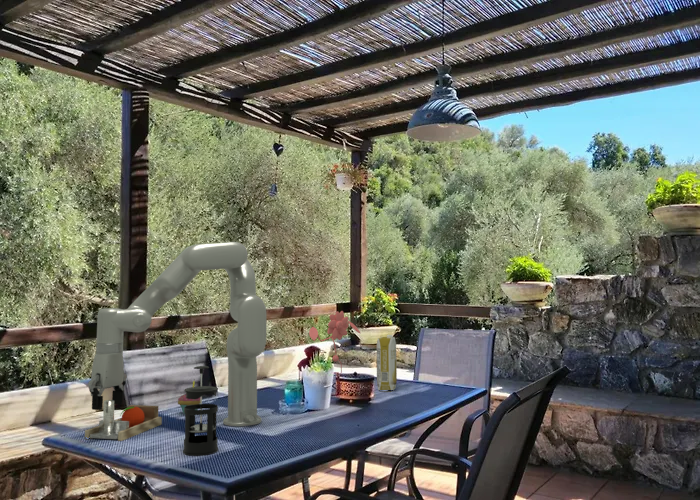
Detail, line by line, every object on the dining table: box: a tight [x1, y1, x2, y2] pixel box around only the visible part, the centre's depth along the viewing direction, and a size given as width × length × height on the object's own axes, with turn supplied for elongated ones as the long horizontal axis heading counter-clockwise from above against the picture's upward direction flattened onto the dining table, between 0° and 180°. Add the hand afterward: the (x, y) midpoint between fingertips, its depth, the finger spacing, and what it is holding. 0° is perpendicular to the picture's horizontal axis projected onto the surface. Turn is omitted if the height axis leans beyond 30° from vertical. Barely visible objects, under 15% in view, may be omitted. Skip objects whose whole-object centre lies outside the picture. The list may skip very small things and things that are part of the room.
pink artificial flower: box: [308, 310, 361, 374], centre depth 252 cm, size 15×26×35 cm, turn 133°
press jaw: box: [90, 399, 129, 440], centre depth 179 cm, size 6×9×11 cm, turn 77°
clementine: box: [119, 406, 145, 428], centre depth 190 cm, size 8×7×7 cm
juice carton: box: [376, 334, 398, 391], centre depth 261 cm, size 9×8×24 cm
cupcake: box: [177, 378, 201, 415], centre depth 214 cm, size 9×8×12 cm
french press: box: [182, 365, 219, 457], centre depth 164 cm, size 12×9×23 cm
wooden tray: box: [84, 404, 163, 442], centre depth 187 cm, size 22×12×6 cm, turn 167°
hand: (107, 406), depth 179 cm, fingers open, 9 cm apart
